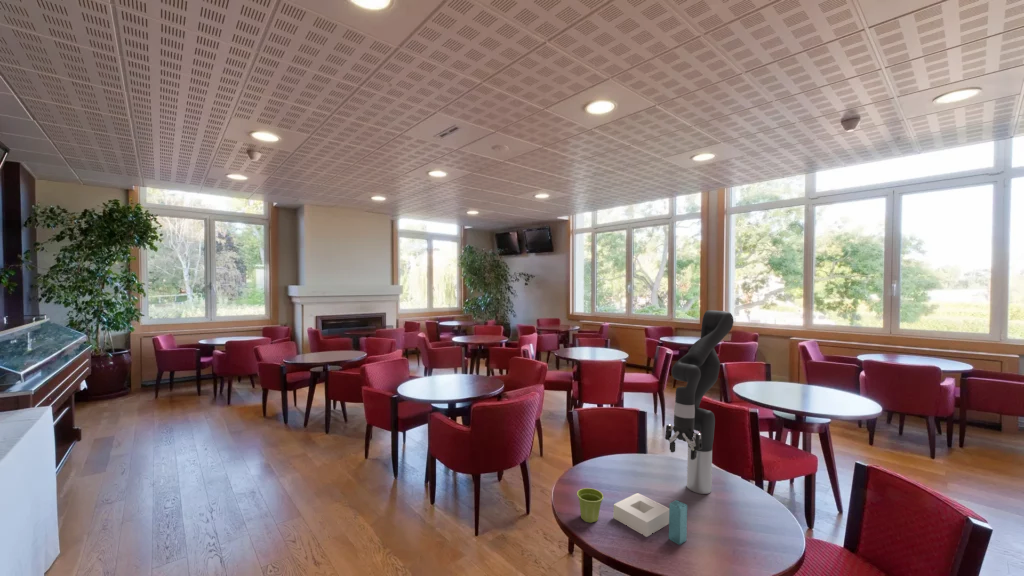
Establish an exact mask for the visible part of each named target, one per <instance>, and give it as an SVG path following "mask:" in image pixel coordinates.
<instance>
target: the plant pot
mask: <svg viewBox="0 0 1024 576" xmlns="http://www.w3.org/2000/svg"><path fill="white" fill-rule="evenodd" d="M576 495H577V498H578V502H579V509H580V510H579V512H580V517H581V518H580V519H582V520H583V521H584V522H586V523H589V524H590V523H591V524H592V523H594V522H595V523H596V522H598V520H599V517H600V510H601V504H602V501H603V500H604V494H603V492H602V491H600V490H598V489H596V488H591V487H589V488H588V487H585V488H581V489H578V490H577V492H576Z"/></svg>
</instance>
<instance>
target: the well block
mask: <svg viewBox="0 0 1024 576" xmlns="http://www.w3.org/2000/svg"><path fill="white" fill-rule="evenodd" d="M612 516H613V519H614V520H616V521H618V522H620V523H621V524H623V525H625V526H626V525H627V527H628V528H630V529H632V530H634V531H636V532H637V533H639V534H641V535H642V534H643V535H642V536H644V537H645V538H648V537H649V536H651V535H653V534H655V532H658V531H659V530H660V529H662V528H664V527H666V526H667V525H668V526H669V507H667V506H665V505H663V504H661V503H659V502H658V501H655V500H653V499H651V498H649V497H647V496H645V495H643V494H641V493H638V492H636V493H635V494H632V495H629V496H628V497H626V498H624V499H622V500H620V501H617V502H616V503H614V504H613V515H612ZM652 533H653V534H652Z"/></svg>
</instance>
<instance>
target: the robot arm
mask: <svg viewBox="0 0 1024 576" xmlns="http://www.w3.org/2000/svg"><path fill="white" fill-rule="evenodd" d="M733 326H734V317H733V314H732V313H731V312H729V311H725V310H712V309H710V310H708V309H707V310H706V311H705V312H704V314H703V316H702V321H701V328H700V338H699V339H698V340H696V341H695V342H694V343H693V344H692V346H691V347H690V349H689V350H688V352H687V353H686V354H684V355H683V356H682V357H681V358H679V359H678V360H676V361H675V363H674V364H673V366H672V367H671V376H672V378H673V379H674V380H677V381H679V382H685V383H686V386H679V387H676V389H675V401H674V408H673V409H674V410H673V425H672V423H670V424H667V425H666V426H665V437H664V439H665V440H666V441H668V442H669V451H670V453H672V454H673V453H675V452H676V441H677V440H680V441H682V442H686V443H687V463H686V464H687V466H686V468H687V470H686V471H687V473H686V487H687V489H688V490H689V491H691V492H693V493H695V494H700V495H701V494H702V495H707V494H710V493H711V492H712V487H713V486H712V484H713V482H712V481H713V444H714V437H715V428H716V427H715V425H716V418H715V413H714V412H713V411H711V410H707V409H705V408H701V407H700V404H701V402H702V399H703V397H704V396H705V395H706V393H707V392H708V391H709V390H710V389H711V388H713V386H714V385H715V384H716V382H717V381H718V378H719V375H720V374H719V373H720V369H721V368H720V367H721V362H720V359H719V356H718V353H717V351H716V350H715V347H716V346H717V345H718V344H719V343H720V342H721V341H722V340H723V339H725V337H726V336H727V335H728V334H729V333H730V331H731V330H732V329H733ZM695 431H697V432H699V433H697V432H695ZM673 432H674V434H673V435H672V433H673Z"/></svg>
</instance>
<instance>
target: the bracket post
mask: <svg viewBox="0 0 1024 576" xmlns="http://www.w3.org/2000/svg"><path fill="white" fill-rule="evenodd" d="M668 508H669V524H668V540H669V539H670V541H671V542H674V544H677V545H678V546H680V545H682V544H684V543H685V542H686V541H687V538H688V537H687V535H688V534H687V529H688V528H687V525H688V504H686V503H684V502H681V501H680V500H678V499H675V500H674V501H671V502H669V507H668Z"/></svg>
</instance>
